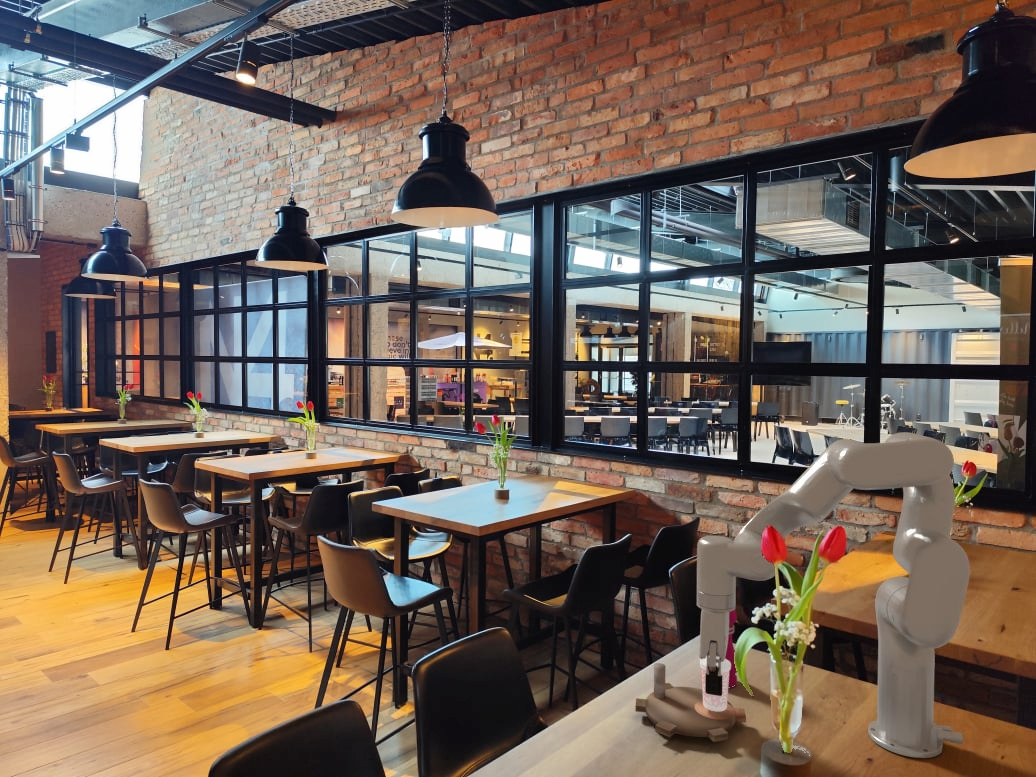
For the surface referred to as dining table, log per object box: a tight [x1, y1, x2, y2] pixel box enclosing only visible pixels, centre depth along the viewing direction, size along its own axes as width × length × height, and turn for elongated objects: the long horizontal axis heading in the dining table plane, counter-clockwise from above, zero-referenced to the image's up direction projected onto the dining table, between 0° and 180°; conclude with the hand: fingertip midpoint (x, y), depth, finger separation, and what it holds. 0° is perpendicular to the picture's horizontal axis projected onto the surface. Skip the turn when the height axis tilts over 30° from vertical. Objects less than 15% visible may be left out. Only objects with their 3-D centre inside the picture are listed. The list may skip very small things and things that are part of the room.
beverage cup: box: [699, 656, 731, 711], centre depth 138 cm, size 6×6×14 cm
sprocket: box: [635, 662, 747, 743], centre depth 140 cm, size 22×20×8 cm
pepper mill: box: [709, 609, 738, 687], centre depth 157 cm, size 7×7×20 cm
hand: (715, 686), depth 138 cm, fingers closed on beverage cup, 6 cm apart
